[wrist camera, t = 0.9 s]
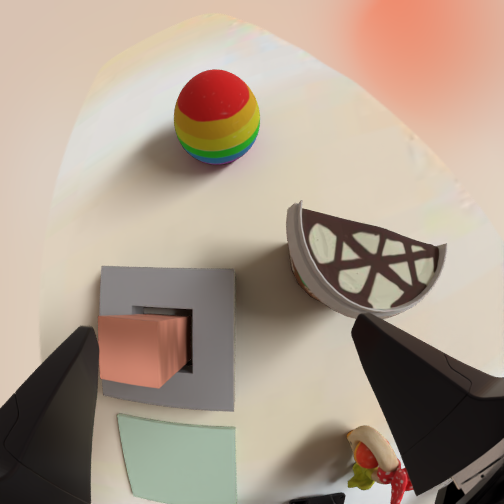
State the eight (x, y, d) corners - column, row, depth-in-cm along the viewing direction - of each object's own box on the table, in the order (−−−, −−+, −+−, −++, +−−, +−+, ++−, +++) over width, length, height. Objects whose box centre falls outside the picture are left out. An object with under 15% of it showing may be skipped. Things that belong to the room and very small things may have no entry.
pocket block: (234, 400, 23) (233, 411, 20) (116, 387, 22) (103, 395, 19) (235, 273, 25) (234, 269, 22) (115, 270, 25) (101, 265, 22)
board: (237, 507, 20) (236, 510, 19) (135, 493, 19) (133, 496, 19) (235, 427, 22) (235, 429, 22) (119, 413, 22) (117, 415, 21)
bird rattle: (320, 440, 24) (353, 496, 19) (333, 457, 14) (378, 531, 10) (369, 412, 24) (400, 467, 20) (405, 411, 15) (444, 486, 10)
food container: (260, 303, 25) (271, 301, 15) (275, 238, 26) (292, 197, 16) (381, 325, 24) (443, 331, 15) (390, 266, 26) (452, 245, 16)
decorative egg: (242, 106, 29) (241, 41, 19) (270, 160, 27) (281, 95, 18) (175, 128, 28) (153, 66, 18) (195, 186, 27) (172, 127, 17)
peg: (191, 358, 23) (159, 388, 14) (150, 354, 23) (100, 378, 14) (191, 316, 24) (157, 321, 14) (150, 313, 24) (98, 315, 14)
